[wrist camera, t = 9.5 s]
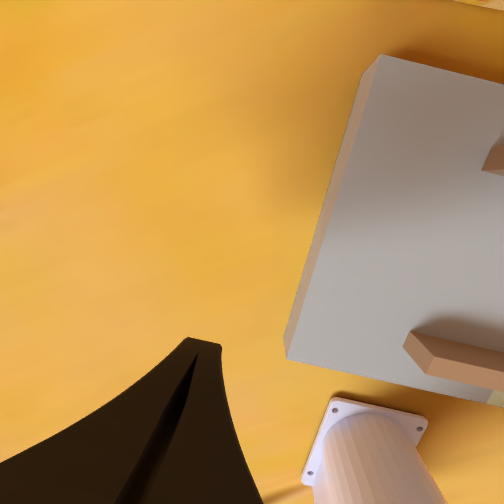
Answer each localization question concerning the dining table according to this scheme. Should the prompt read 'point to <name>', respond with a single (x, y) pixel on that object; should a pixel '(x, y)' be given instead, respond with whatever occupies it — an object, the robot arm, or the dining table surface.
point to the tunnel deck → (411, 238)
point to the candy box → (485, 3)
